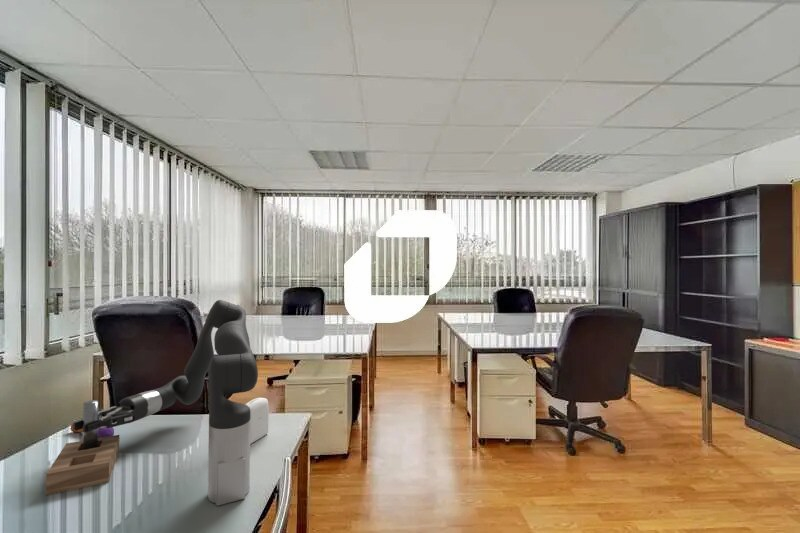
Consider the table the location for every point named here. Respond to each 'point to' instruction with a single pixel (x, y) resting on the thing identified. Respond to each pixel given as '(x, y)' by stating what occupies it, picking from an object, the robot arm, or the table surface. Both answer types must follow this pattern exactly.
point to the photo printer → (258, 418)
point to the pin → (88, 416)
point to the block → (82, 465)
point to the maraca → (99, 431)
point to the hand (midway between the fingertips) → (79, 427)
